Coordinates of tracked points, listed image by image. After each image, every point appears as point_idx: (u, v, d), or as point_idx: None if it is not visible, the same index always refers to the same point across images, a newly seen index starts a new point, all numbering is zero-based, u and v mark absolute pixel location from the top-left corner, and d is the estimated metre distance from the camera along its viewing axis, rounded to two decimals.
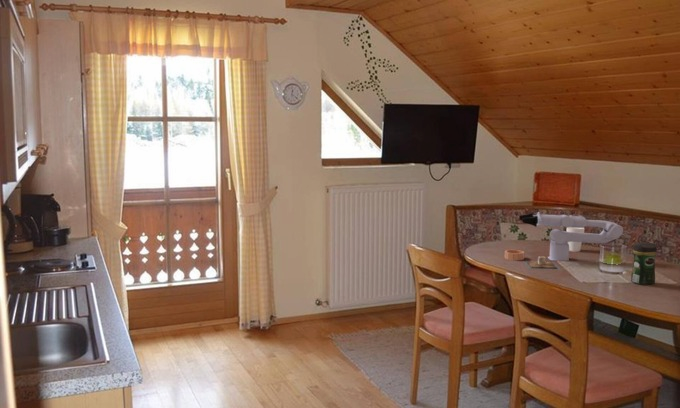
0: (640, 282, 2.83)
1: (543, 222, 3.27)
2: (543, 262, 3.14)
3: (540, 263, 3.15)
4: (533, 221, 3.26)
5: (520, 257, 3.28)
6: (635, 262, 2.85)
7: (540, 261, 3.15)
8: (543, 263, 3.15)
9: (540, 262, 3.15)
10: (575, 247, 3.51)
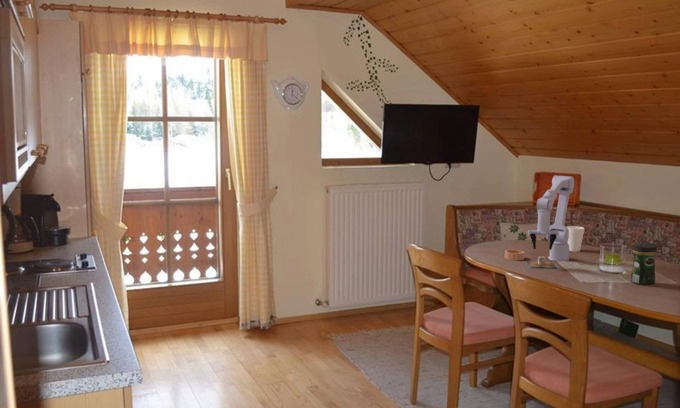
0: (640, 282, 2.83)
1: None
2: (543, 262, 3.14)
3: (540, 263, 3.15)
4: None
5: (520, 257, 3.28)
6: (635, 262, 2.85)
7: (540, 261, 3.15)
8: (543, 263, 3.15)
9: (540, 262, 3.15)
10: (575, 247, 3.51)
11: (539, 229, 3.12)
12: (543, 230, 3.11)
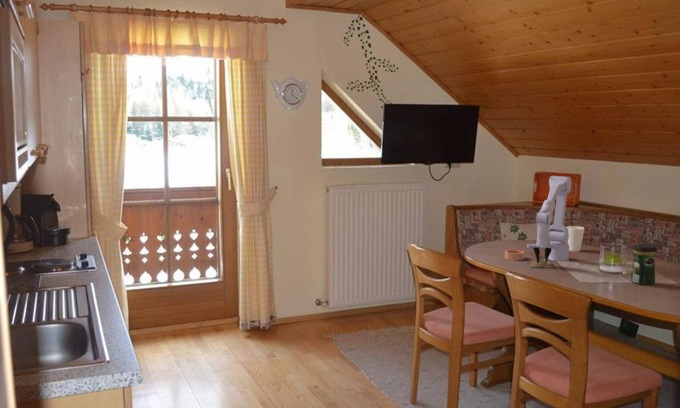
0: (640, 282, 2.83)
1: None
2: (543, 262, 3.14)
3: (540, 263, 3.15)
4: None
5: (520, 257, 3.28)
6: (635, 262, 2.85)
7: (540, 261, 3.15)
8: (543, 263, 3.15)
9: (540, 262, 3.15)
10: (575, 247, 3.51)
11: (538, 243, 3.13)
12: (542, 244, 3.12)
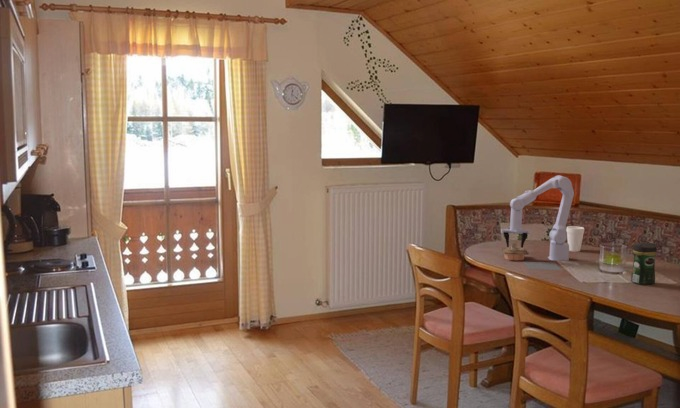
0: (640, 282, 2.83)
1: None
2: (516, 248, 3.30)
3: (513, 249, 3.30)
4: None
5: (520, 257, 3.28)
6: (635, 262, 2.85)
7: (513, 247, 3.30)
8: (516, 249, 3.30)
9: (513, 248, 3.30)
10: (575, 247, 3.51)
11: (511, 228, 3.28)
12: (515, 229, 3.27)
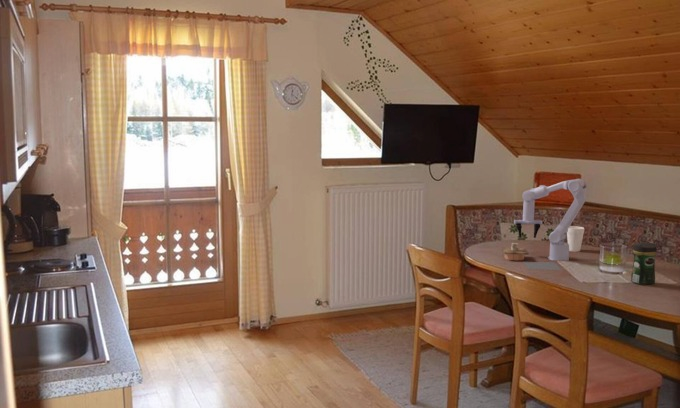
0: (640, 282, 2.83)
1: None
2: (516, 248, 3.30)
3: (513, 249, 3.30)
4: None
5: (520, 257, 3.28)
6: (635, 262, 2.85)
7: (513, 247, 3.30)
8: (516, 249, 3.30)
9: (513, 248, 3.30)
10: (575, 247, 3.51)
11: (524, 219, 3.37)
12: (528, 220, 3.36)
